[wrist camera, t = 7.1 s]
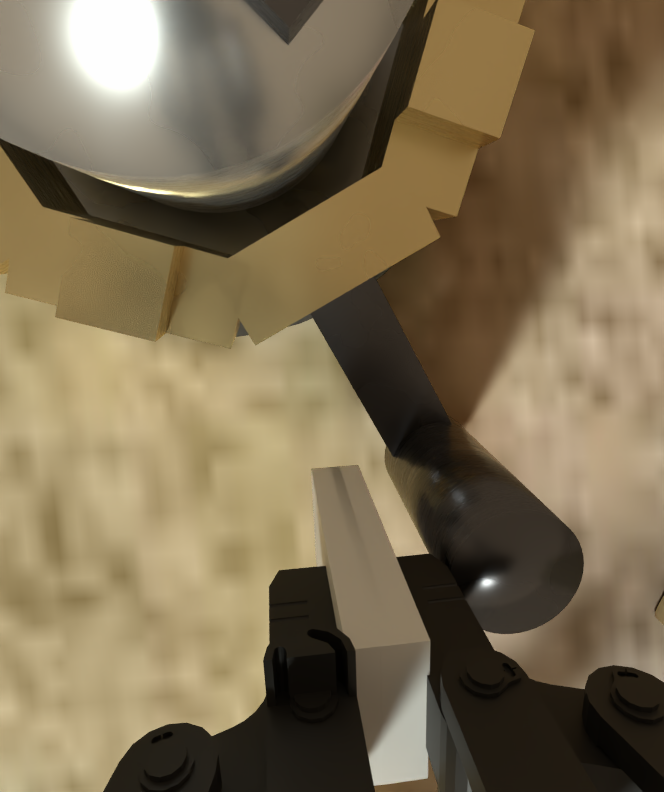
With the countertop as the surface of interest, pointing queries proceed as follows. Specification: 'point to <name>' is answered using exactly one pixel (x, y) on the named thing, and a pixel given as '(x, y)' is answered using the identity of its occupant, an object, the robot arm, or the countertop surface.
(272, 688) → the robot arm
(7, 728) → the countertop surface
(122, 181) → the housing
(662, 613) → the skincare box
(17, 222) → the tan handled ring
